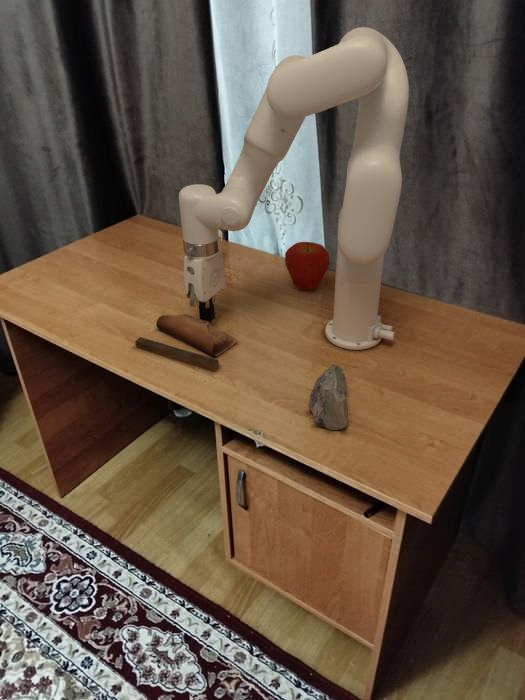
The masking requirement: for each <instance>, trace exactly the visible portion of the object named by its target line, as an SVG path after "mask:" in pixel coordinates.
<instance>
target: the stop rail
mask: <svg viewBox="0 0 525 700" xmlns="http://www.w3.org/2000/svg"><path fill="white" fill-rule="evenodd" d="M134 343H135V347H136V349H139V350H142V351H146V352H150V353H152V354H155V355H159V356H163V357H166V358H169V359H172V360H176V361H179V362H181V363H185V364H189V365H190V366H191V365H192V366H195V367H198V368H200V369H201V368H202V369H204V370H208V371H211V372H214V373H215V372H216V371H217V370H218V369H219V368H220V365H219V364H220V363H219V360H218V359H217V358H216V359H215V358H213V357H208V356H206V355H202V354H199V353H195V352H193V351H189V350H186V349H182V348H179V347H176V346H172V345H168V344H166V343H162V342H158V341H155V340H152V339H149V338H145V337H142V336H139V337H138V338H137V339H136V340H134Z"/></svg>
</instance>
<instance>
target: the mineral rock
mask: <svg viewBox="0 0 525 700" xmlns="http://www.w3.org/2000/svg"><path fill="white" fill-rule="evenodd" d="M347 387H348V384H347V378H346V374H345V371H344V369H343V367H342V366H341V365H337V364H331V365H330V366H329V367H328V368H327V369H325V370H324V371H323V372H322V373H321V375H320V376H318V378H316V381H315V383H314V385H313V387H312V388H313V389H312V391H311V392H310V397H309V401H308V407H309V409H310V411H311V414H312V417H313V423H315V426H317V427H319V428H325V429H327V430H330V431H338V430H343V429H345V428H346V427H347V426H348V424H349V423H348V404H347V399H346V395H347Z"/></svg>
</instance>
